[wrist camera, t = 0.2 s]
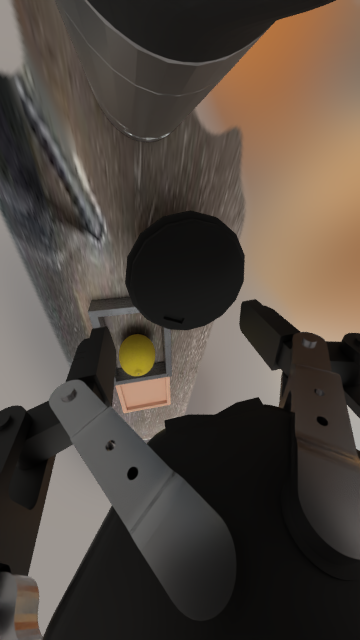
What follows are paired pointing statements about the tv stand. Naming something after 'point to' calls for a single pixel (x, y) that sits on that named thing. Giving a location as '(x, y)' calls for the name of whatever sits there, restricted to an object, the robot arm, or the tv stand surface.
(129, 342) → the lemon
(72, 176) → the tv stand surface
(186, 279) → the coffee cup
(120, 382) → the grey open box
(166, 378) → the tray
